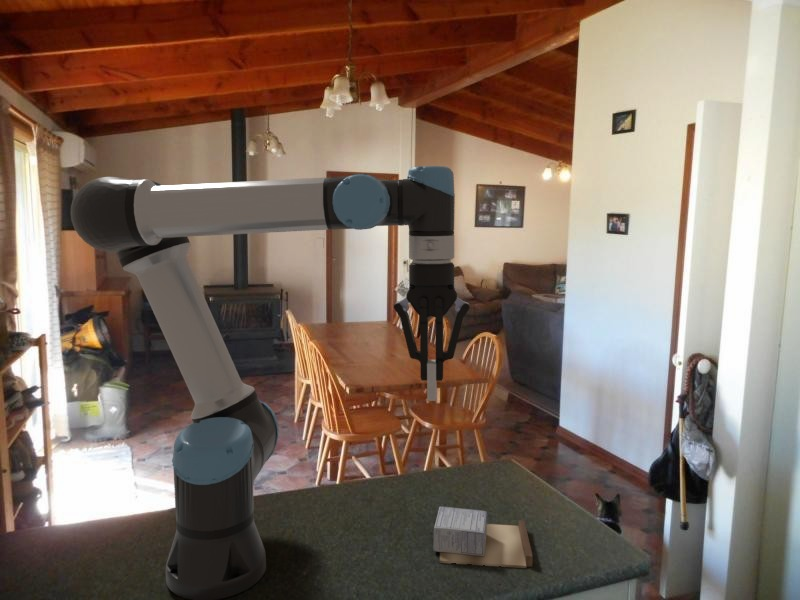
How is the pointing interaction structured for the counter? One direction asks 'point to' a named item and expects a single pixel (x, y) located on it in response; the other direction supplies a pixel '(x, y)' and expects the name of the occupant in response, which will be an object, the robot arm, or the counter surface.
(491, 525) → the light wooden board
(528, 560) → the stop rail
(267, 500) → the counter surface
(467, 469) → the counter surface
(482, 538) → the medicine box
